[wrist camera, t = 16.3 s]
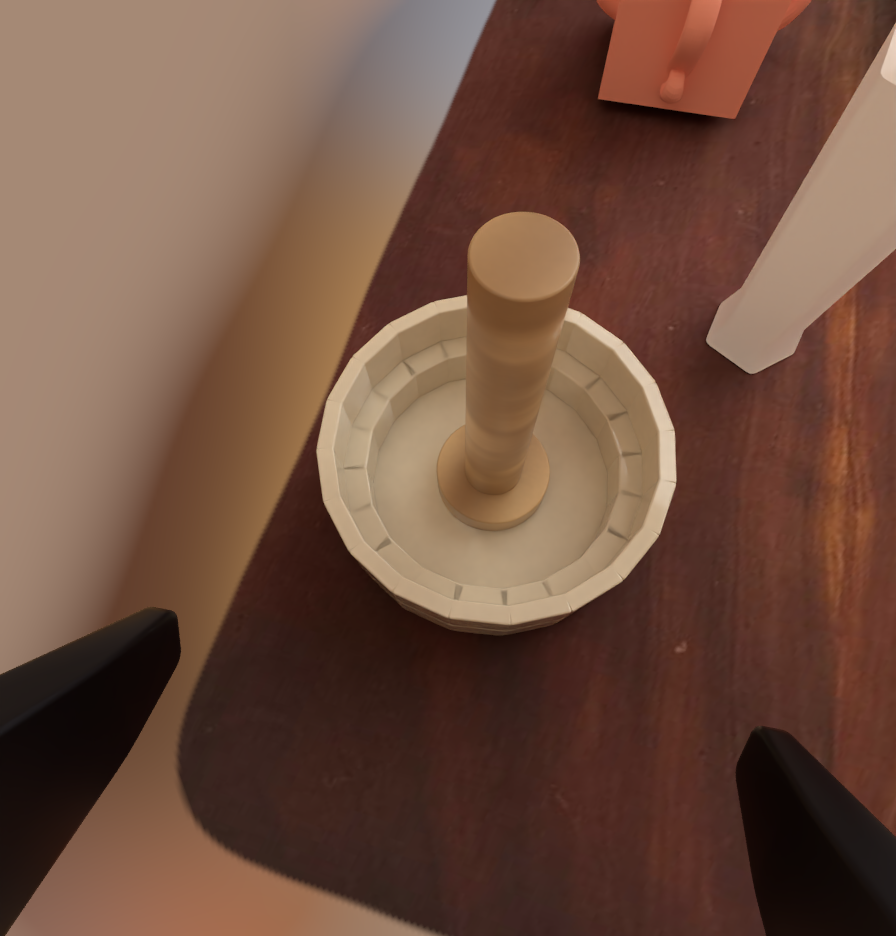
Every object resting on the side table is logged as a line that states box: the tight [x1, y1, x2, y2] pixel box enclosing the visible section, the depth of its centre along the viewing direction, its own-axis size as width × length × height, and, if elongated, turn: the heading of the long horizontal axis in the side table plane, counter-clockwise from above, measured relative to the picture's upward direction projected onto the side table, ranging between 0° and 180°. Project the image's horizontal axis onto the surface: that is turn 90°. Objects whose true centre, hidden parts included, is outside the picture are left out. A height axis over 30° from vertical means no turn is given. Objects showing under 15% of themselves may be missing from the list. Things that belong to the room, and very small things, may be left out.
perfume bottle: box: [706, 23, 896, 374], centre depth 19 cm, size 5×4×15 cm
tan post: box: [436, 212, 580, 531], centre depth 17 cm, size 4×4×13 cm
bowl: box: [316, 295, 677, 636], centre depth 22 cm, size 12×12×4 cm
